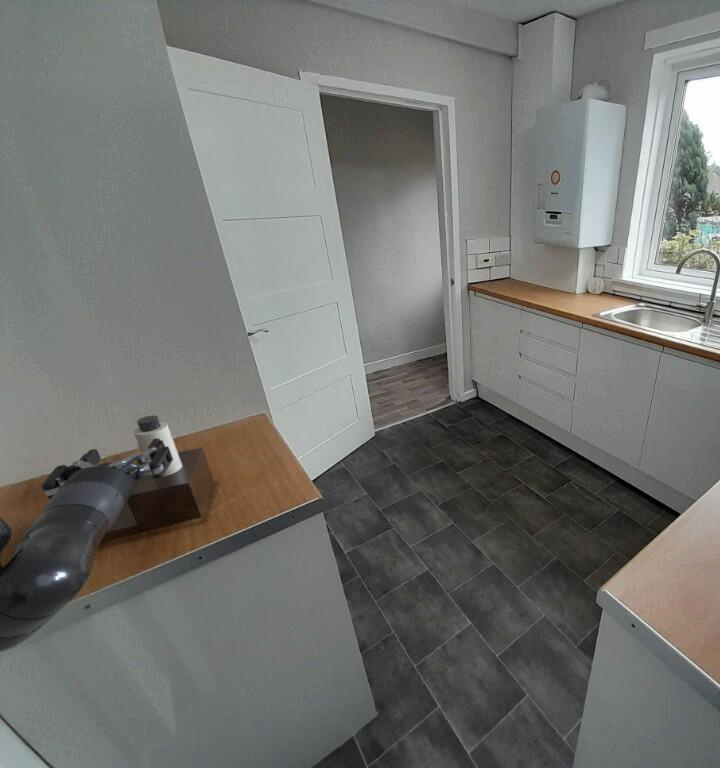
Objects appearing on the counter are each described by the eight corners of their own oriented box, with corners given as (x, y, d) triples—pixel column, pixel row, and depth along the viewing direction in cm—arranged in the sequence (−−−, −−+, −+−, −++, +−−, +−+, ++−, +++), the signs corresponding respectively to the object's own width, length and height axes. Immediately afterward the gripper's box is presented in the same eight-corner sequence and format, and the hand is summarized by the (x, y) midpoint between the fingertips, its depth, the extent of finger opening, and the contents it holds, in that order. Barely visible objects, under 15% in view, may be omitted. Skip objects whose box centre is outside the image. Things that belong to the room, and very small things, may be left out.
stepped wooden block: (61, 556, 76) (37, 514, 72) (93, 509, 88) (73, 471, 84) (203, 521, 85) (188, 482, 81) (214, 483, 97) (202, 447, 92)
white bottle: (147, 479, 82) (125, 427, 77) (155, 465, 86) (135, 415, 81) (179, 473, 84) (159, 422, 79) (185, 460, 88) (167, 411, 83)
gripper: (141, 470, 59) (171, 421, 72) (3, 497, 53) (63, 438, 66) (159, 511, 62) (184, 456, 75) (30, 541, 56) (82, 476, 69)
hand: (127, 448), depth 71 cm, fingers open, 8 cm apart
